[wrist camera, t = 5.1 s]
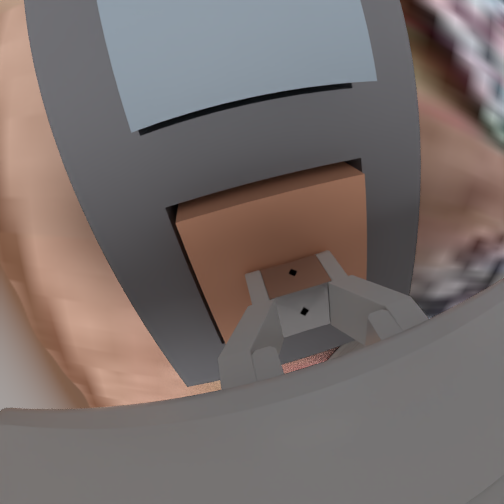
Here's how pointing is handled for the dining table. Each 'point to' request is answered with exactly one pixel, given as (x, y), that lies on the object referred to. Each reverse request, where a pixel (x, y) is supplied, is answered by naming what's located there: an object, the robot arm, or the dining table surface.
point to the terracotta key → (272, 231)
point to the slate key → (228, 51)
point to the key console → (223, 168)
